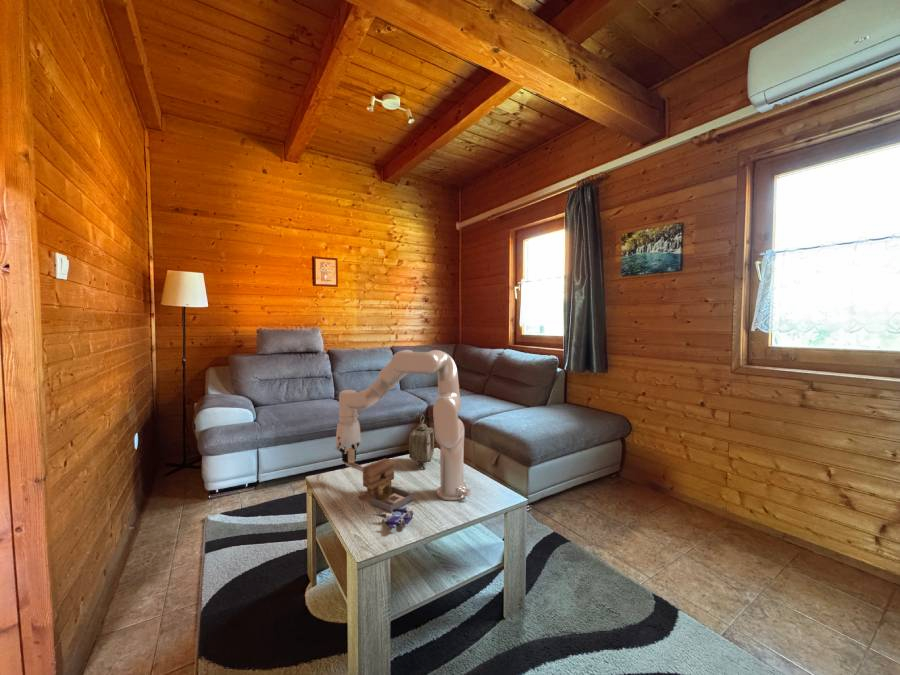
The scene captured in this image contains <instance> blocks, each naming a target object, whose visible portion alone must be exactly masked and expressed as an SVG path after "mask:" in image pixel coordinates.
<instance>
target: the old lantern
mask: <svg viewBox="0 0 900 675" xmlns="http://www.w3.org/2000/svg"><path fill="white" fill-rule="evenodd" d="M422 418H423V419H422ZM424 422H425V414H422V415H421V416H420V418H419V423H420V424H418V425H417V427H416V428H414V429H413V430H412V431H411V432H410V434H409V436H408V439H409V440H408V452H409V454H408V455H409V459H411V460H412V461H416V465H417V464H419V465H420V462H421V464H422V470H426V468H427V467H426V465H425V463H424V462H431V461H432V457H433V455H434V450H435V429H434V427H428V426H427V424H425V423H424Z"/></svg>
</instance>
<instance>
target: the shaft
mask: <svg viewBox="0 0 900 675" xmlns="http://www.w3.org/2000/svg"><path fill="white" fill-rule="evenodd" d="M347 453H348V463H345V462H343V464H345V466H347V467H349V468H352V469H355V470H358V471H360V472H362V473H363V467H364V466H363V465H360V464H358V463H356V460H355V449H353V448H351V447H347ZM380 478H382V474H380Z"/></svg>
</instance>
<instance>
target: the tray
mask: <svg viewBox="0 0 900 675" xmlns="http://www.w3.org/2000/svg"><path fill="white" fill-rule="evenodd" d="M386 492H387V489H386V490H384V491H383V493H386ZM394 493H395V494H397V495H400V496H402V497H405V498H404V499H402V500H400V501H398V502H396V503H395V504H393V505H391V506H390V505H388V504H385V503H383V500H381V501H379V500H378V494H376V495H374V496H372V497H370V503H369V504H370V505H371V506H372V507H376V508H378V509H380V510H382V511H384V512H385V513H388V514H393V513H394V512H393V511H392V510H394V509H400V508H402V507H405V506H406V505H408V504H410V503H411V502H413V501H414V494H413V493H410V492H408V491H405V490H403V489H400V488H397V487H396V486H393V485H391V495H392V494H394ZM392 501H395V499H393V500H392Z"/></svg>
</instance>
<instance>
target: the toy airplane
mask: <svg viewBox="0 0 900 675" xmlns="http://www.w3.org/2000/svg"><path fill="white" fill-rule="evenodd" d="M392 511H393V512H392V513H388V512H386V511H384V512H381V513H378V514H374V513H373V514H372V513H371V514H370V515H373V516H378V517H381V518H383V519H382V520H381V523H382V524H385V525H386V526H389V528H390V529H391V528H392V529H395V528H396V527H400V528H401V529H403V528H404V525H403V524H405V525H408V524H410V522H411V520H413V515H414V512H413V511H412V510H407V507H406V506H403V507H401V508H399V509H394V510H392ZM385 519H387V521H385Z"/></svg>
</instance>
